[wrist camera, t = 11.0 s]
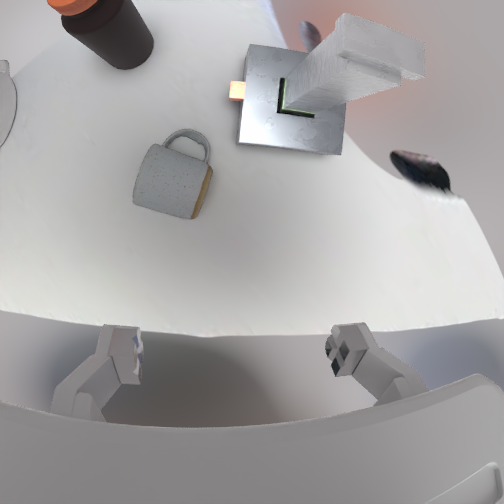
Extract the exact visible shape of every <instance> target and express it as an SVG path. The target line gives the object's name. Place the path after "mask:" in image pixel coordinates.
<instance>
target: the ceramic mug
mask: <svg viewBox="0 0 504 504" xmlns="http://www.w3.org/2000/svg"><path fill="white" fill-rule="evenodd" d="M179 136H186V137H189V138H191V139H193V140H195V141H197V142H198V143H199V144H203V146H204V149H205V160H204V162H203V161H200V160H198V159H195V158H192V157H189V156H187V155H184V154H181V153H179V152H177V151H174V150H171V149H168V148H166V147H167V146H168V145H169V143H170V142H171V141H172V140H174V139H175V138H177V137H179ZM209 154H210V147H209V143H208V141H207V140H206V138H205V137H204V136H203V135H202V134H200V133H199V132H196V131H194V130H190V129H182V130H179V131H176V132H175V133H173V134H171V135H170V136H169V137H168V138H167V139H166V141H165V142H164V143H163V145H162V146H160V145H158V144H153V145H152V146H151V147H150V149H149V150H148V152H147V154H146V156H145V158H144V160H143V162H142V165H141V167H140V170H139V173H138V176H137V179H136V183H135V186H134V190H133V203H134V204H135V205H138V206H142V207H145V208H149V209H152V210H155V211H159V212H163V213H166V214H170V215H173V216H176V217H179V218H185V219H194V218H195V217H197V215H198V213H199V211H200V208H201V206H202V203H203V200H204V198H205V195H206V192H207V189H208V186H209V183H210V180H211V176H212V173H213V170H212V168H211V166H209V165H207V161H208V158H209Z"/></svg>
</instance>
